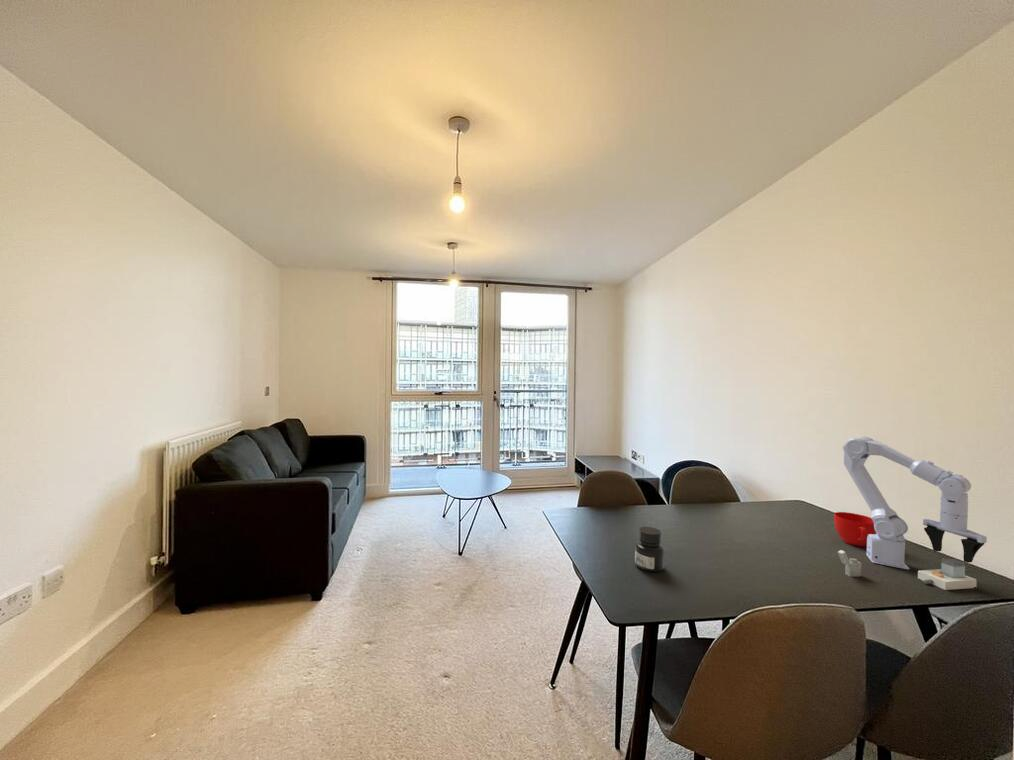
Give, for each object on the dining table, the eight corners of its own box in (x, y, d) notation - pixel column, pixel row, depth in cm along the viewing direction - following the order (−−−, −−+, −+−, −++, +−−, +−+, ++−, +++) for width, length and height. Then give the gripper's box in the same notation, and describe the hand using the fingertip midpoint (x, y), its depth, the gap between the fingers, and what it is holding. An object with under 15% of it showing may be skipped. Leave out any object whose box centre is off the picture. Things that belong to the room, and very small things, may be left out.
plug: (952, 585, 123) (953, 563, 123) (940, 580, 126) (941, 558, 126) (964, 584, 124) (965, 562, 124) (952, 579, 127) (953, 558, 126)
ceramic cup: (841, 549, 148) (842, 522, 148) (829, 533, 163) (830, 509, 163) (887, 557, 142) (887, 529, 142) (870, 540, 157) (871, 515, 157)
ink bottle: (628, 561, 133) (629, 526, 133) (649, 558, 136) (650, 523, 136) (648, 575, 124) (649, 537, 124) (670, 571, 127) (671, 534, 127)
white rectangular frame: (938, 590, 119) (939, 580, 119) (911, 578, 126) (912, 569, 126) (976, 587, 122) (976, 577, 122) (947, 576, 129) (948, 566, 129)
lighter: (856, 573, 129) (856, 549, 129) (861, 576, 127) (862, 551, 127) (836, 574, 128) (837, 549, 128) (841, 576, 126) (842, 552, 126)
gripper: (995, 521, 118) (993, 566, 118) (935, 505, 132) (934, 545, 132) (976, 522, 117) (975, 567, 117) (918, 506, 131) (917, 546, 131)
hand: (952, 556), depth 125 cm, fingers open, 7 cm apart
